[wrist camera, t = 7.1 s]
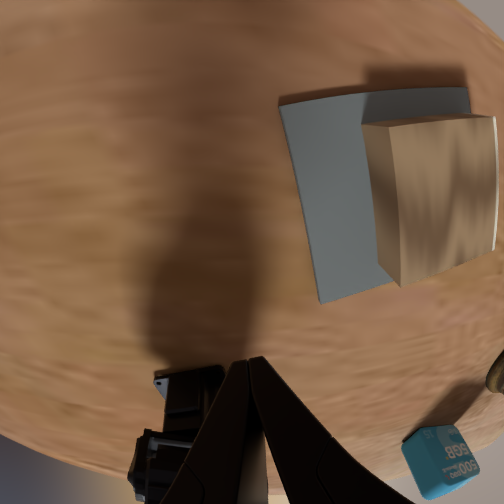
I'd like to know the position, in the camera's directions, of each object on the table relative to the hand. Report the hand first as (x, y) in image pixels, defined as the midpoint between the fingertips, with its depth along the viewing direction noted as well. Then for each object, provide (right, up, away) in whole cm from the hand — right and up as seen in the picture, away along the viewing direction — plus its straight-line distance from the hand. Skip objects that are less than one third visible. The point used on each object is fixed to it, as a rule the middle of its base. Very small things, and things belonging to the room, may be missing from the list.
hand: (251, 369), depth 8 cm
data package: (+29, -27, +29) cm, 49 cm away
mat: (+10, +8, +12) cm, 18 cm away
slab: (+8, +6, +10) cm, 14 cm away
